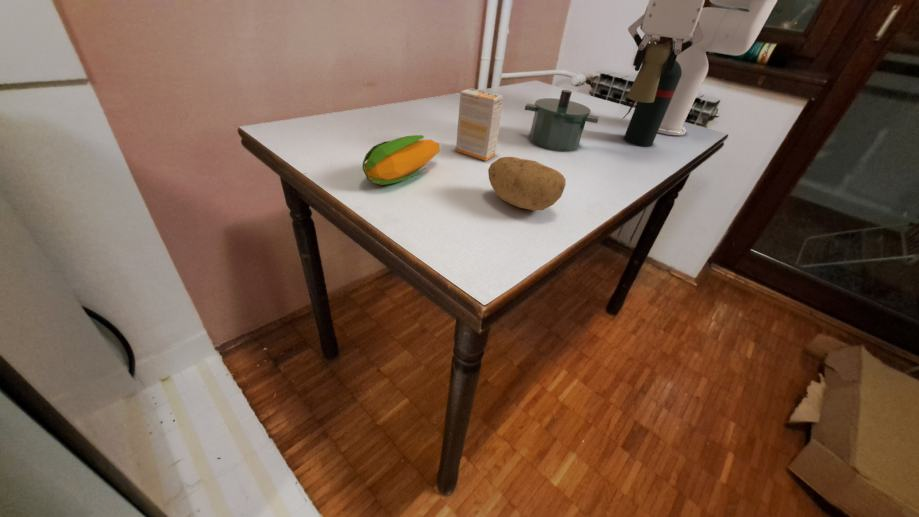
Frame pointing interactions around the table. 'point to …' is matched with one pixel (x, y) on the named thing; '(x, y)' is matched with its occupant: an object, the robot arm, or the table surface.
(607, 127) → the table surface
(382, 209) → the table surface
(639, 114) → the wine bottle
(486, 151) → the supplement box
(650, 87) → the cork
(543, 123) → the pot
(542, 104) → the pot lid
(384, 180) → the corn
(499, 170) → the potato
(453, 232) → the table surface
